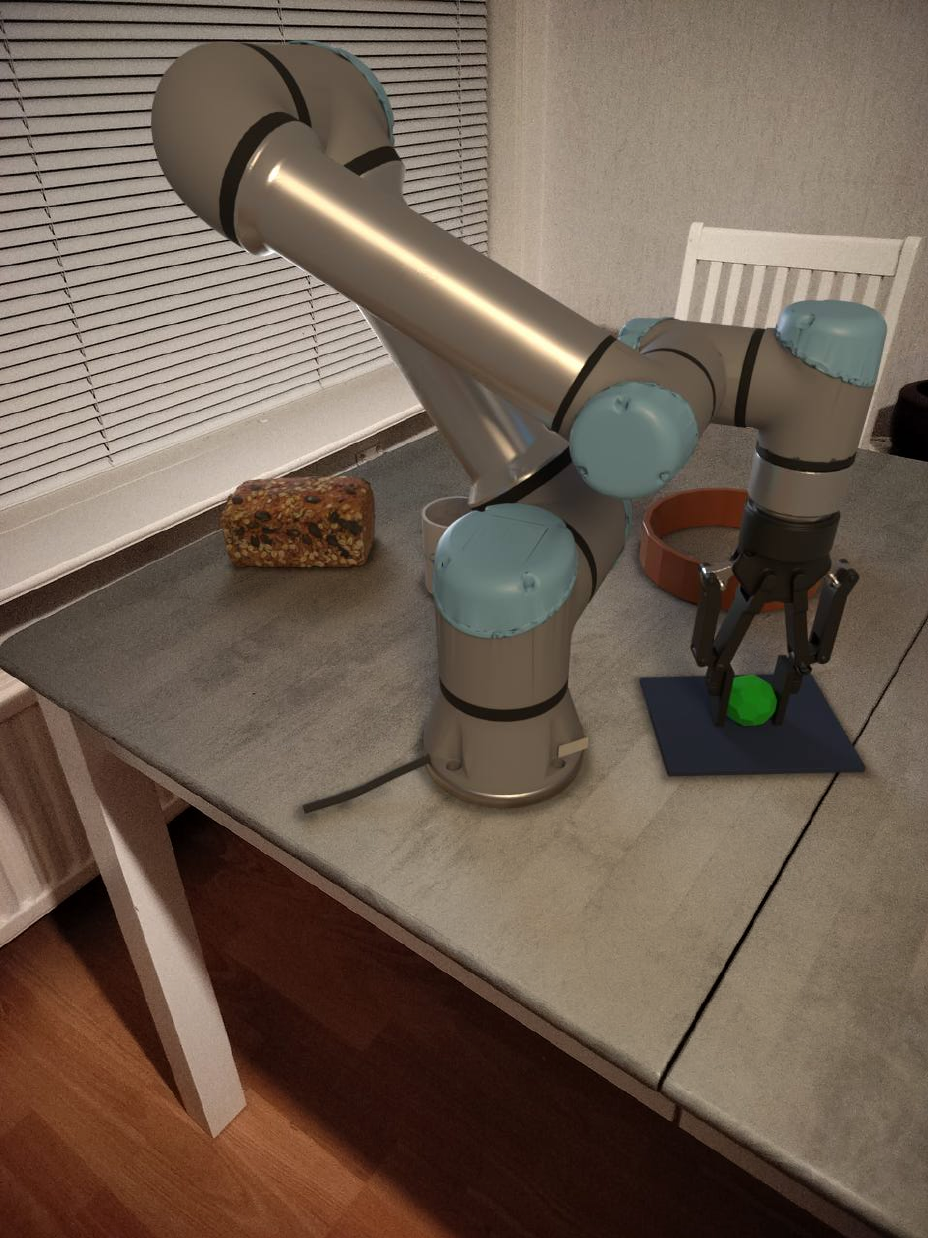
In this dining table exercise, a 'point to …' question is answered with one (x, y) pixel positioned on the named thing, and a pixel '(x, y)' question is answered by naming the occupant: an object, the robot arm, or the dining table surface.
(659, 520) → the orange bottomless ring
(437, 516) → the mug
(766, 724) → the mat
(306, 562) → the bread
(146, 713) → the dining table surface
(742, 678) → the polyhedron
